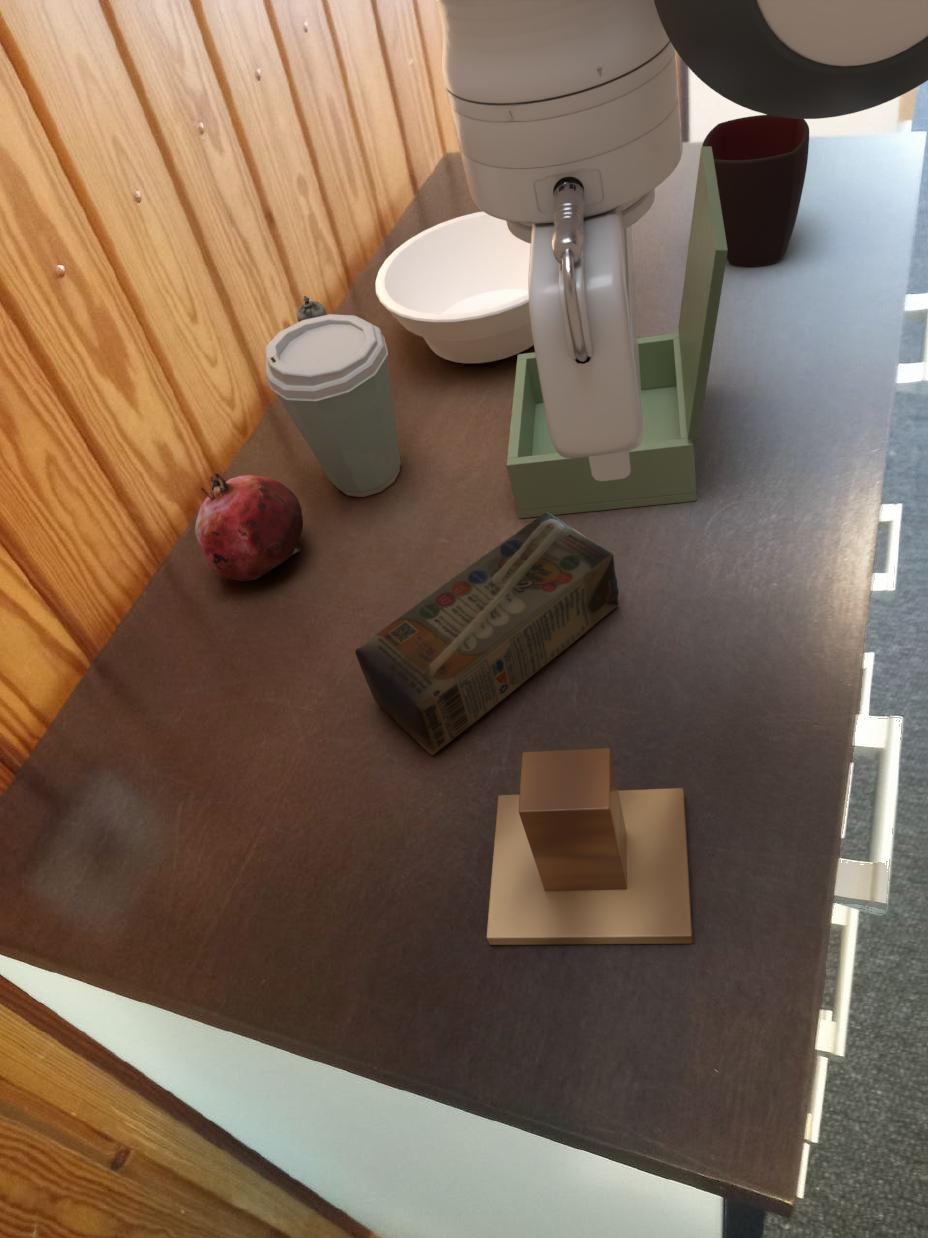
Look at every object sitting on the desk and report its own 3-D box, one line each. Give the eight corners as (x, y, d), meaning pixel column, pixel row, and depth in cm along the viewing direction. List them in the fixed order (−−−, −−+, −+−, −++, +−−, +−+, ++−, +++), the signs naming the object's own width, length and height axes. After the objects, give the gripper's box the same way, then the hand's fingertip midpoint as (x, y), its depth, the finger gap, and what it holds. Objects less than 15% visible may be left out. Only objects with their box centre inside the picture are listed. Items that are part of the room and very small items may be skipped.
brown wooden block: (626, 831, 64) (610, 747, 58) (627, 890, 61) (610, 808, 55) (546, 833, 65) (522, 751, 59) (544, 891, 63) (518, 812, 56)
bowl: (516, 257, 118) (502, 188, 112) (634, 320, 104) (626, 245, 98) (361, 341, 113) (338, 273, 107) (463, 418, 99) (444, 345, 93)
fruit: (337, 549, 90) (300, 460, 83) (251, 614, 87) (205, 527, 80) (279, 510, 96) (239, 423, 88) (196, 570, 92) (148, 485, 85)
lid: (715, 249, 68) (728, 249, 68) (701, 145, 79) (711, 145, 79) (687, 439, 80) (698, 439, 80) (678, 327, 90) (687, 327, 90)
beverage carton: (627, 607, 78) (618, 545, 73) (434, 765, 72) (410, 708, 67) (556, 561, 83) (543, 500, 78) (369, 705, 77) (343, 648, 72)
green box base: (519, 518, 88) (506, 465, 83) (528, 406, 98) (517, 354, 94) (697, 501, 84) (693, 444, 80) (687, 387, 95) (683, 331, 91)
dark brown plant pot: (701, 279, 106) (695, 165, 98) (718, 212, 115) (714, 102, 106) (802, 275, 103) (805, 156, 94) (812, 206, 112) (815, 91, 103)
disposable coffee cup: (399, 426, 101) (354, 288, 90) (443, 482, 93) (400, 339, 82) (300, 472, 99) (242, 337, 88) (337, 532, 92) (279, 393, 81)
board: (684, 796, 66) (683, 787, 65) (692, 944, 59) (691, 936, 59) (500, 803, 69) (497, 794, 68) (489, 945, 62) (486, 938, 61)
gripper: (660, 244, 34) (689, 547, 44) (638, 23, 47) (664, 291, 57) (472, 276, 35) (541, 563, 45) (504, 52, 49) (552, 309, 59)
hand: (610, 409), depth 51 cm, fingers open, 8 cm apart
